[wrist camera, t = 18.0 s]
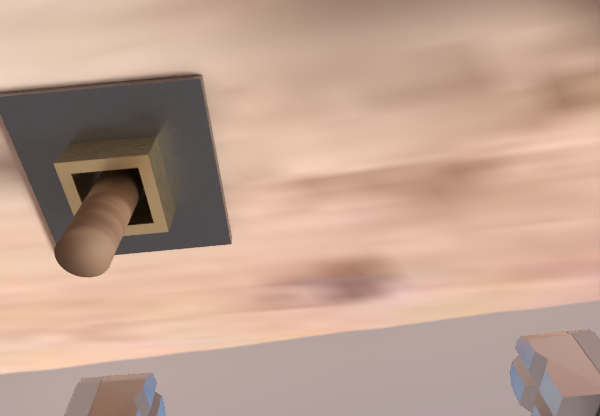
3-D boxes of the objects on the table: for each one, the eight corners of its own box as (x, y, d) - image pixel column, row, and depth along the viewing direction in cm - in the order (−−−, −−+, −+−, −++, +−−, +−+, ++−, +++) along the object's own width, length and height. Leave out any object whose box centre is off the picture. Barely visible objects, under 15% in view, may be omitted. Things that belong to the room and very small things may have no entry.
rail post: (139, 157, 40) (102, 231, 31) (150, 194, 42) (117, 274, 33) (97, 161, 40) (46, 237, 31) (109, 198, 42) (65, 279, 33)
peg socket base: (201, 74, 38) (194, 93, 34) (231, 237, 47) (228, 267, 43) (-1, 93, 38) (-31, 113, 34) (67, 253, 46) (49, 284, 43)
